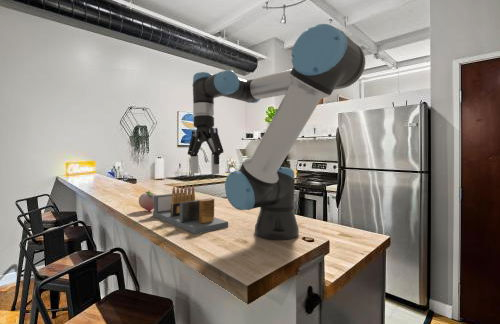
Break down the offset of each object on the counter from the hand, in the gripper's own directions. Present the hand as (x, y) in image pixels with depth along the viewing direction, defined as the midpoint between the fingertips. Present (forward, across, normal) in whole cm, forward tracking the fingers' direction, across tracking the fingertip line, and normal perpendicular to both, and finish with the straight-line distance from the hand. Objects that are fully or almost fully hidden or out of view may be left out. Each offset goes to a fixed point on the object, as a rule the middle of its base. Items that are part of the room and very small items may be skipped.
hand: (204, 173), depth 97 cm
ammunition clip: (+18, +16, 0) cm, 24 cm away
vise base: (+19, +13, 0) cm, 23 cm away
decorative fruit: (+18, +40, +5) cm, 45 cm away
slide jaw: (+18, +2, 0) cm, 18 cm away
